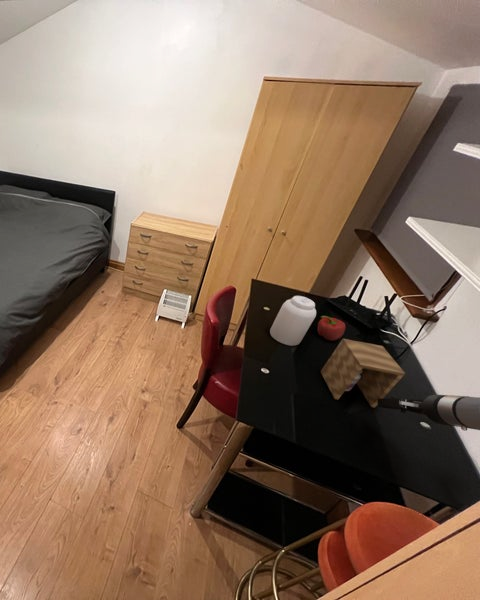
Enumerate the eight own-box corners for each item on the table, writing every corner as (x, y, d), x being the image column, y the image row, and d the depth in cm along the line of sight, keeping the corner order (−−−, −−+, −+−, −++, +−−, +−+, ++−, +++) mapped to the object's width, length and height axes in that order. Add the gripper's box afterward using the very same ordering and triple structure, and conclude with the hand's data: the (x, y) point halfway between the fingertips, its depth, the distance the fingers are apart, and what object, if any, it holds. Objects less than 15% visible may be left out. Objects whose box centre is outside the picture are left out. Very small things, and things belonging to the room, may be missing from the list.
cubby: (374, 407, 114) (405, 373, 104) (334, 398, 116) (360, 364, 106) (356, 379, 125) (382, 346, 116) (320, 371, 127) (342, 338, 118)
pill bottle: (331, 379, 124) (344, 361, 119) (347, 382, 123) (361, 364, 118) (336, 389, 120) (350, 371, 114) (352, 393, 119) (367, 375, 113)
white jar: (278, 325, 152) (296, 289, 141) (305, 340, 143) (327, 303, 132) (263, 333, 146) (281, 296, 135) (291, 350, 137) (312, 312, 126)
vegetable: (313, 339, 145) (323, 321, 139) (309, 326, 153) (319, 309, 147) (341, 346, 142) (353, 329, 136) (336, 333, 150) (347, 316, 144)
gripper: (422, 419, 82) (357, 409, 104) (483, 432, 79) (402, 419, 102) (422, 389, 83) (358, 386, 106) (482, 401, 81) (403, 395, 103)
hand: (380, 402), depth 104 cm, fingers closed
